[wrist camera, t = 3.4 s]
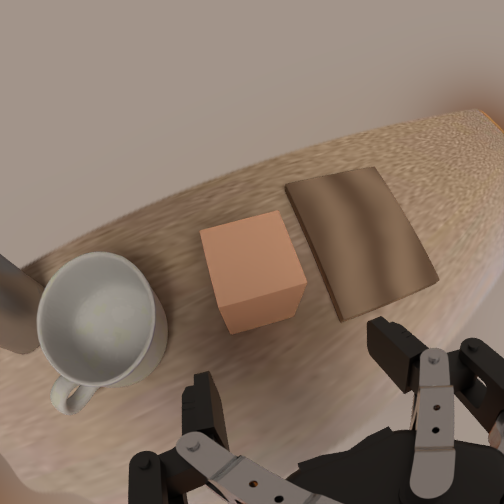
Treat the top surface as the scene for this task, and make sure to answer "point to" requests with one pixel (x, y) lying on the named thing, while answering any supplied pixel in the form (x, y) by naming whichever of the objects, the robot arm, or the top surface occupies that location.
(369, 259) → the board
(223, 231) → the peach colored cube
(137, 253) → the top surface
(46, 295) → the teacup
